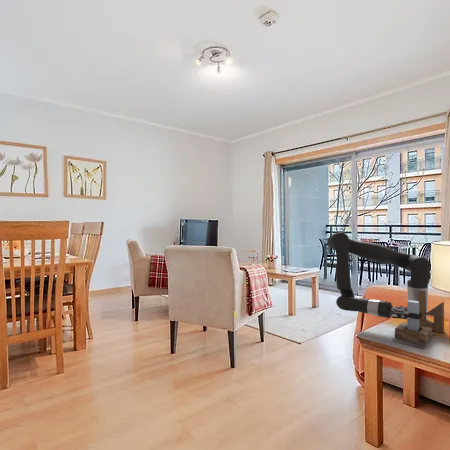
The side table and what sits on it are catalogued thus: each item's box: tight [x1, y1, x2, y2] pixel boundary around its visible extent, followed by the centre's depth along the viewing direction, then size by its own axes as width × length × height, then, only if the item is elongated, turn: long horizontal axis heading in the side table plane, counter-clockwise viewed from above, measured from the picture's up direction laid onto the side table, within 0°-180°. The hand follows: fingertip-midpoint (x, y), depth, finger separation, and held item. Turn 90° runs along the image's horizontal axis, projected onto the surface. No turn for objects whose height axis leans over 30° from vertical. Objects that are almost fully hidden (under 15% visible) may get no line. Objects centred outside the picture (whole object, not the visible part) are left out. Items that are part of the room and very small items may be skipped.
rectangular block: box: [406, 300, 419, 332], centre depth 142 cm, size 3×4×14 cm
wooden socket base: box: [391, 321, 435, 350], centre depth 142 cm, size 20×12×4 cm, turn 136°
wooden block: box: [418, 290, 445, 334], centre depth 152 cm, size 4×11×18 cm, turn 45°
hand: (420, 316), depth 140 cm, fingers closed on rectangular block, 3 cm apart
